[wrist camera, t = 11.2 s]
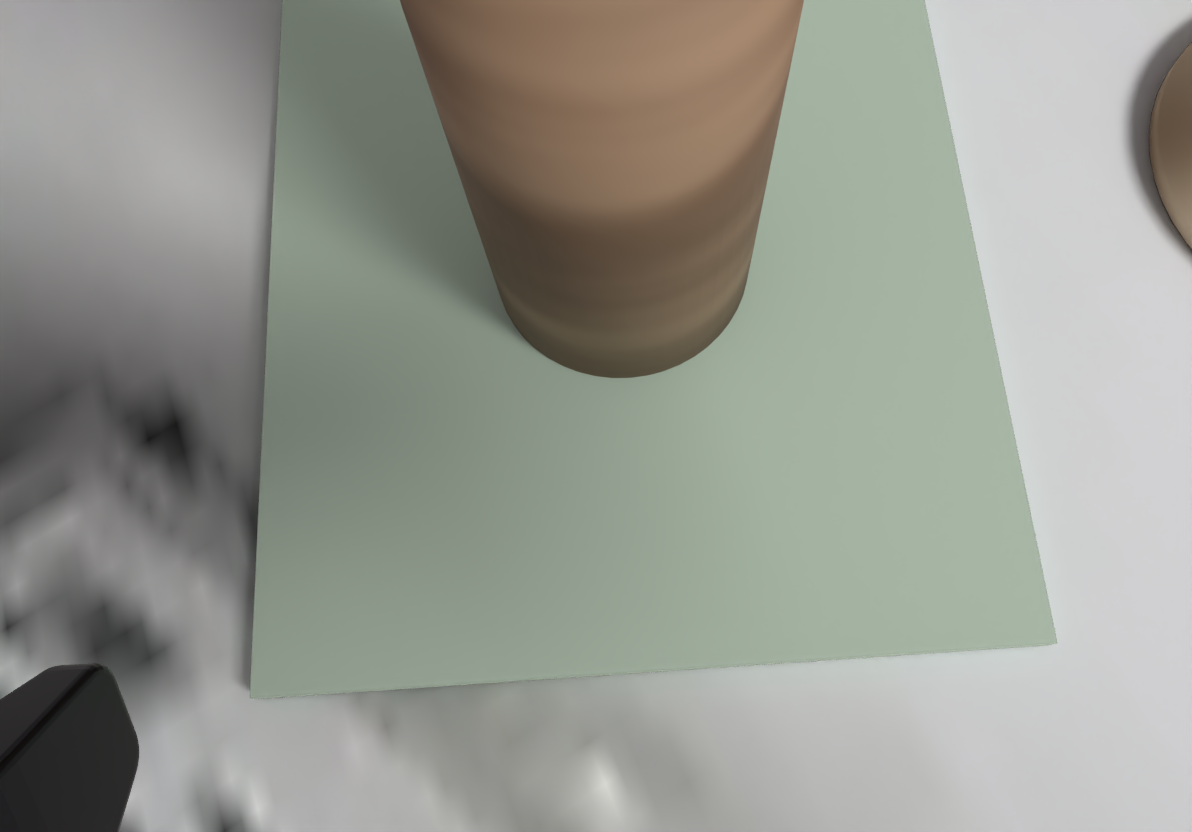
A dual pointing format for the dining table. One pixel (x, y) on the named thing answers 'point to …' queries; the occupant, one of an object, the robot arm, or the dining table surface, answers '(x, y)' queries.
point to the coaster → (1174, 143)
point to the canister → (612, 161)
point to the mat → (628, 404)
